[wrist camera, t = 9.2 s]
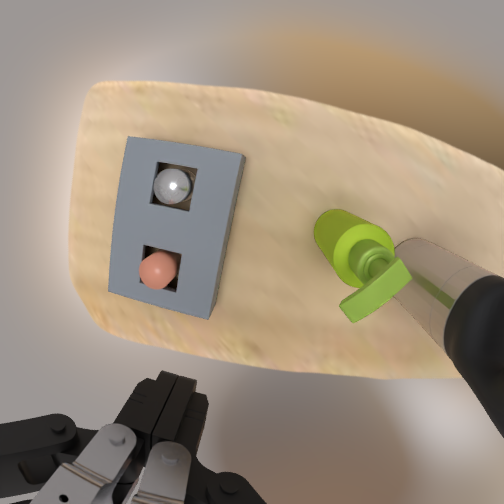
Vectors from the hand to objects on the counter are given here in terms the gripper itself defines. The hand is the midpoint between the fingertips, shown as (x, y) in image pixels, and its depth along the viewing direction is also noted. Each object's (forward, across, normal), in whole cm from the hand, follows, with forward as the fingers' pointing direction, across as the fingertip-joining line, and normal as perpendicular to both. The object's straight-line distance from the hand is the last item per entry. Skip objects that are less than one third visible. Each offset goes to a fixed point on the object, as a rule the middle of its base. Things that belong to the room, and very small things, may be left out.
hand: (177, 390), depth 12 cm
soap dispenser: (+29, -11, -4) cm, 31 cm away
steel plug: (+28, +9, -6) cm, 30 cm away
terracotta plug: (+27, +9, +4) cm, 29 cm away
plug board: (+29, +9, -1) cm, 30 cm away
